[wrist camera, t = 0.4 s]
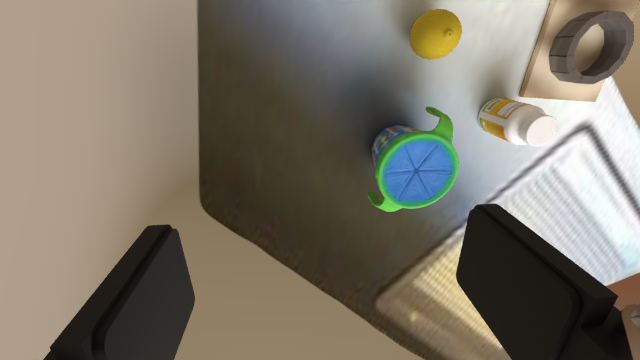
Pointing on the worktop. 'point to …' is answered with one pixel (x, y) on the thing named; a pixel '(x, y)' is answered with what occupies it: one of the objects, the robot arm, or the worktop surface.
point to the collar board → (579, 48)
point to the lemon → (435, 34)
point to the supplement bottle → (517, 122)
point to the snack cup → (414, 165)
